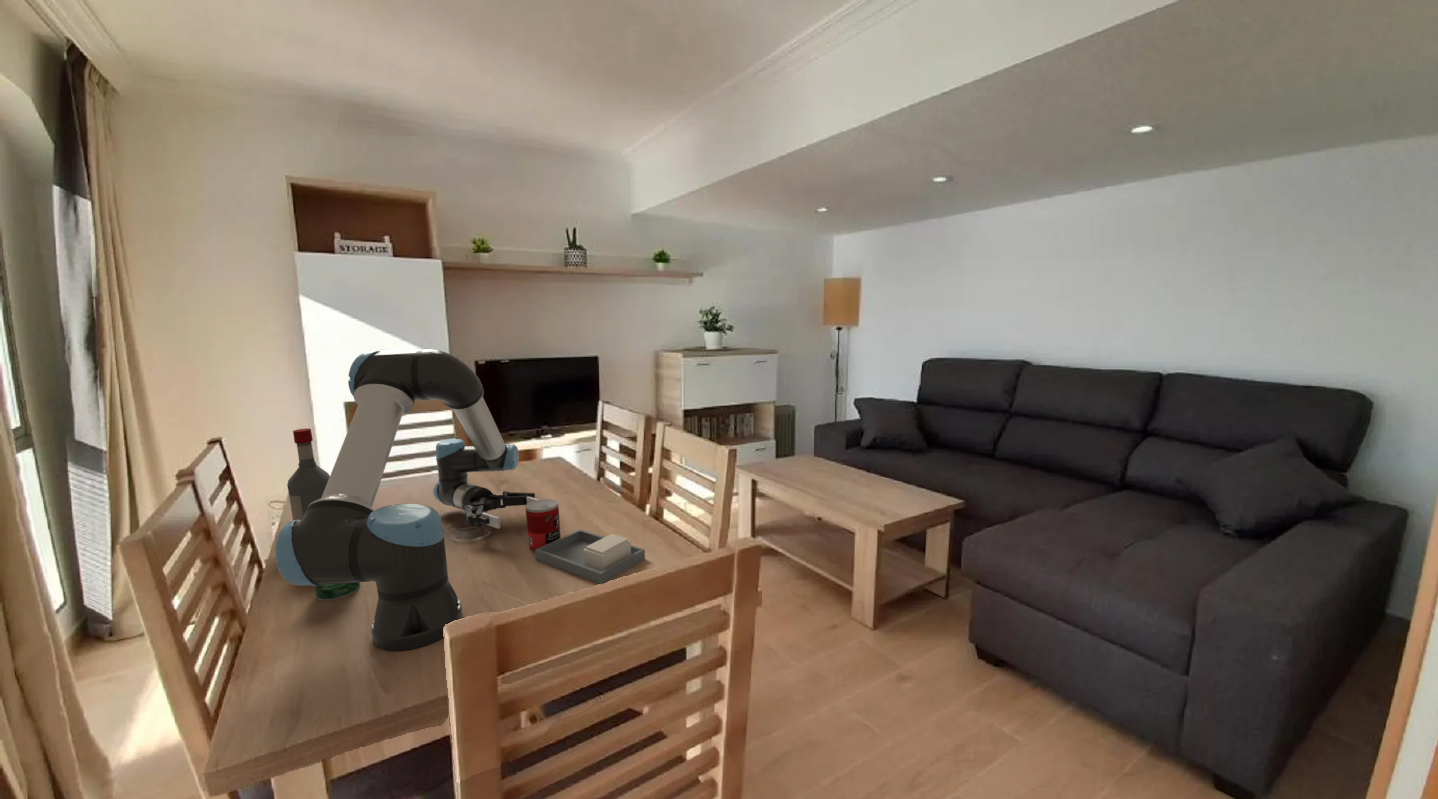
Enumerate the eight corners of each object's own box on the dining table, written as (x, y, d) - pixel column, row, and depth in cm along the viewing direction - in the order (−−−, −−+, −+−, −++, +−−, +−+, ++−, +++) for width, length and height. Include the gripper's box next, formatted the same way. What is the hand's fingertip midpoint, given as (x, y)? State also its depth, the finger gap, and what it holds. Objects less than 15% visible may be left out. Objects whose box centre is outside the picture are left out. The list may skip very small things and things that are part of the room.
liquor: (299, 552, 137) (280, 436, 132) (296, 540, 144) (277, 430, 139) (342, 541, 143) (326, 430, 138) (337, 531, 150) (321, 424, 145)
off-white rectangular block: (631, 560, 128) (630, 538, 127) (603, 577, 121) (602, 553, 120) (612, 554, 132) (611, 532, 131) (584, 570, 124) (583, 547, 123)
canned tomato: (324, 605, 113) (316, 555, 111) (310, 593, 117) (302, 545, 115) (366, 588, 119) (360, 541, 117) (352, 578, 124) (345, 532, 122)
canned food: (552, 553, 134) (548, 510, 132) (522, 550, 136) (518, 508, 134) (566, 540, 142) (563, 499, 140) (538, 537, 143) (535, 498, 141)
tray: (645, 561, 129) (644, 549, 129) (601, 586, 118) (600, 574, 117) (580, 540, 141) (580, 529, 141) (536, 561, 130) (535, 549, 129)
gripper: (513, 498, 165) (560, 512, 153) (432, 527, 145) (479, 545, 133) (511, 474, 164) (558, 486, 152) (429, 500, 143) (476, 516, 132)
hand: (521, 514), depth 143 cm, fingers open, 13 cm apart
